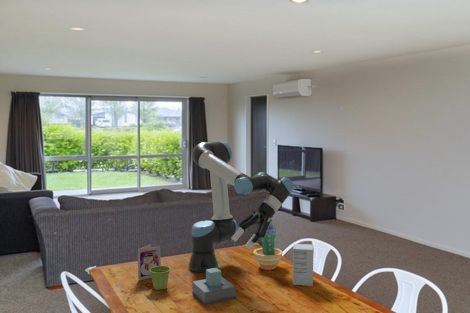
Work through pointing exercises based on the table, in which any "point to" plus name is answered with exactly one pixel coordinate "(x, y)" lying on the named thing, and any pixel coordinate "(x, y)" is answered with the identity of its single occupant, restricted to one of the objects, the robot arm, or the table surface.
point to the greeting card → (148, 260)
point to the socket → (213, 291)
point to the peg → (213, 277)
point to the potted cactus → (268, 250)
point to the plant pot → (160, 276)
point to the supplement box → (303, 264)
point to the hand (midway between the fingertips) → (239, 243)
